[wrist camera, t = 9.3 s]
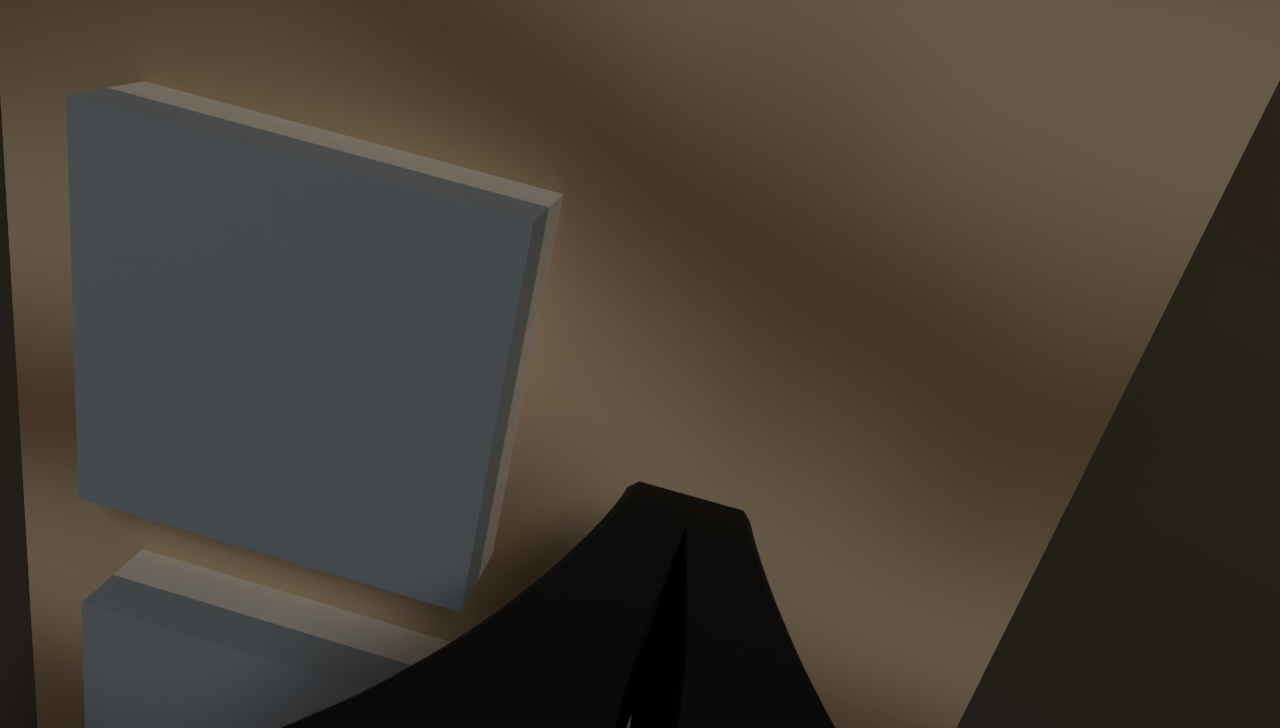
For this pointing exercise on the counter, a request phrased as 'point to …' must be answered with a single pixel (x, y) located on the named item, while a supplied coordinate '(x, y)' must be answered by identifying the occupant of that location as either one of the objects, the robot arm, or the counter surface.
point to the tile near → (299, 336)
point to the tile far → (225, 650)
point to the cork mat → (715, 277)
